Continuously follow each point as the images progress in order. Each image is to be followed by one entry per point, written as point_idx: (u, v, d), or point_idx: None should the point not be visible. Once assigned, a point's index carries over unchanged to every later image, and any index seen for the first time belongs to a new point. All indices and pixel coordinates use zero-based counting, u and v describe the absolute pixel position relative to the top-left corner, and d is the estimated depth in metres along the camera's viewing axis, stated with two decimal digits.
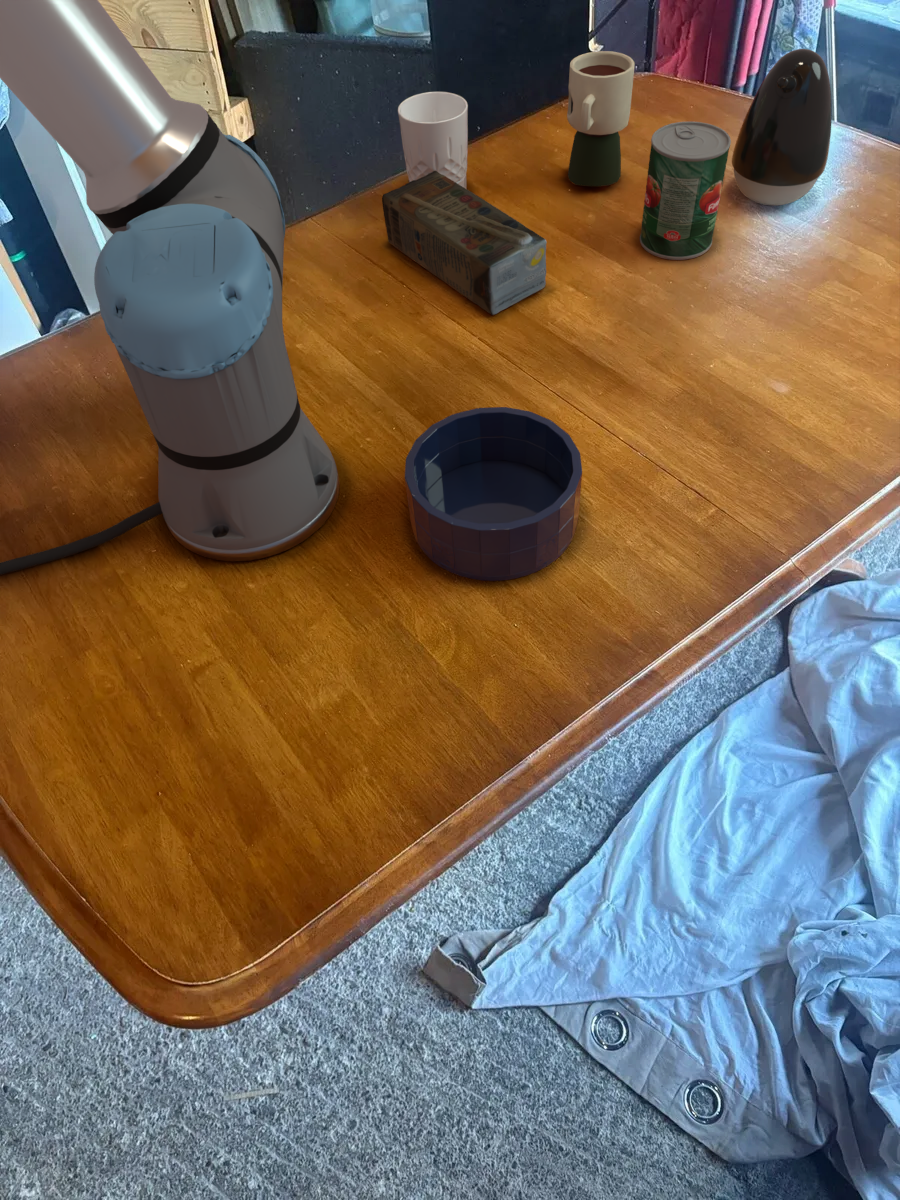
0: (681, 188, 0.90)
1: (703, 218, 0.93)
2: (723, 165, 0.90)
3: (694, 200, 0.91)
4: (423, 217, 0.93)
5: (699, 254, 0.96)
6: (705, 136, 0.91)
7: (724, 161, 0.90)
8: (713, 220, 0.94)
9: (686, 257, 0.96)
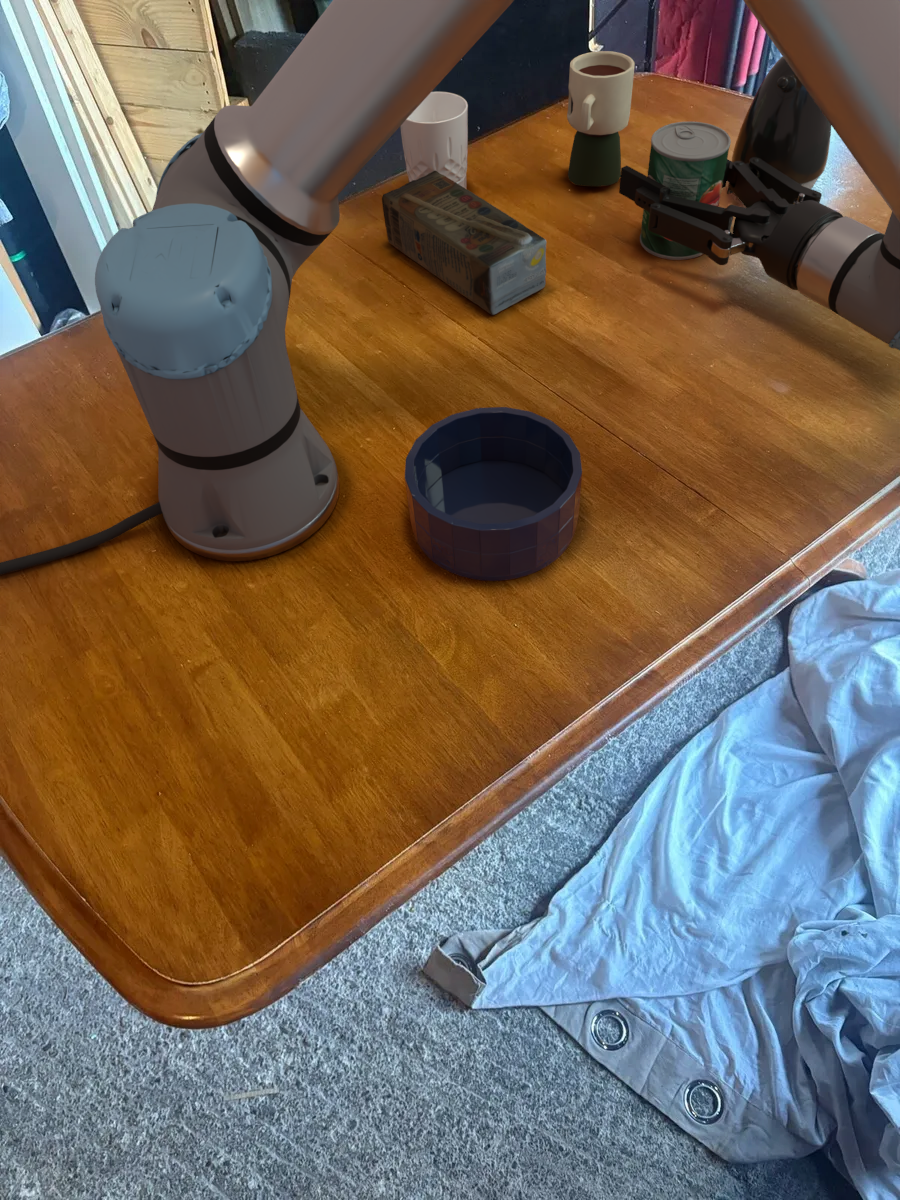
0: (681, 188, 0.90)
1: None
2: (723, 165, 0.90)
3: (694, 200, 0.91)
4: (423, 217, 0.93)
5: (699, 254, 0.96)
6: (705, 136, 0.91)
7: (724, 161, 0.90)
8: None
9: (686, 257, 0.96)
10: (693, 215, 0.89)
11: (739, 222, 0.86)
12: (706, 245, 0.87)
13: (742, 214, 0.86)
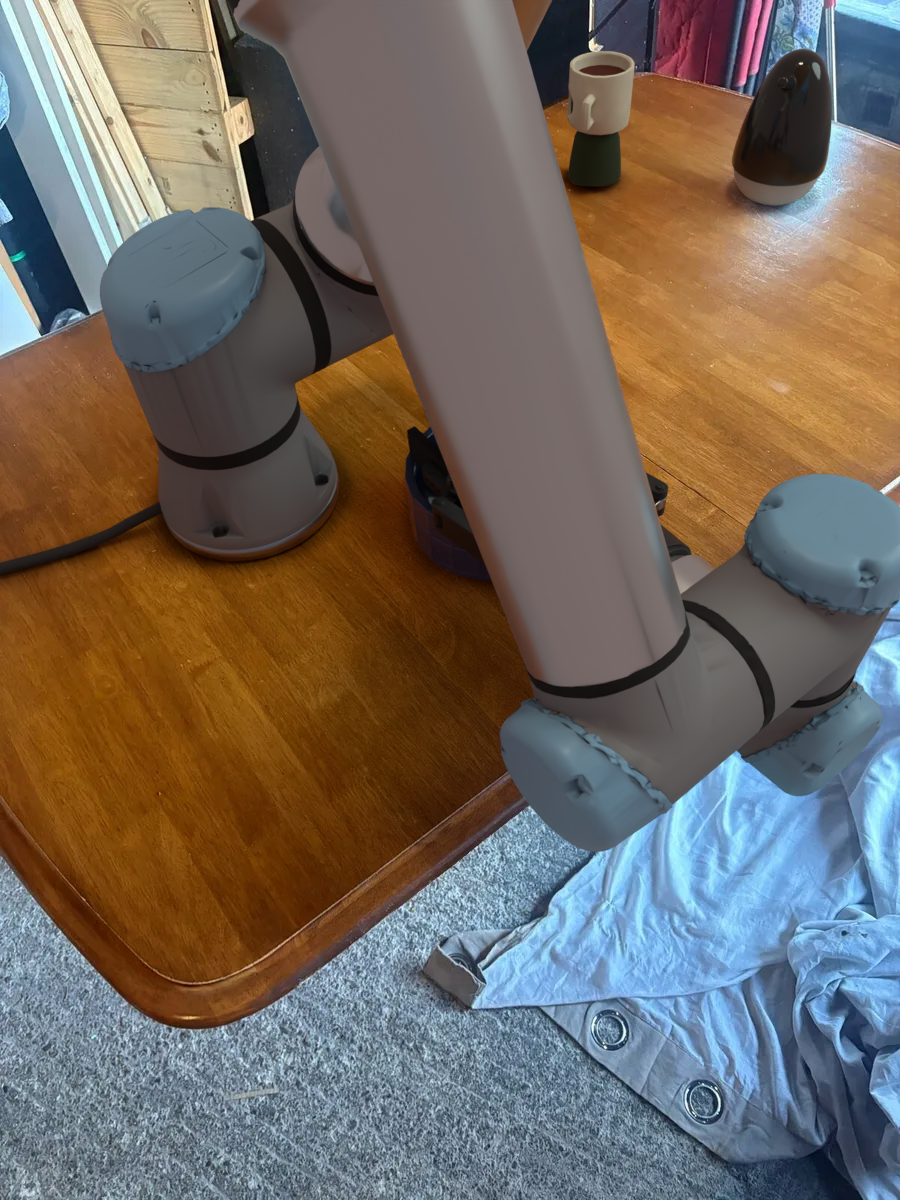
0: None
1: None
2: None
3: None
4: None
5: None
6: None
7: None
8: None
9: None
10: None
11: None
12: None
13: None
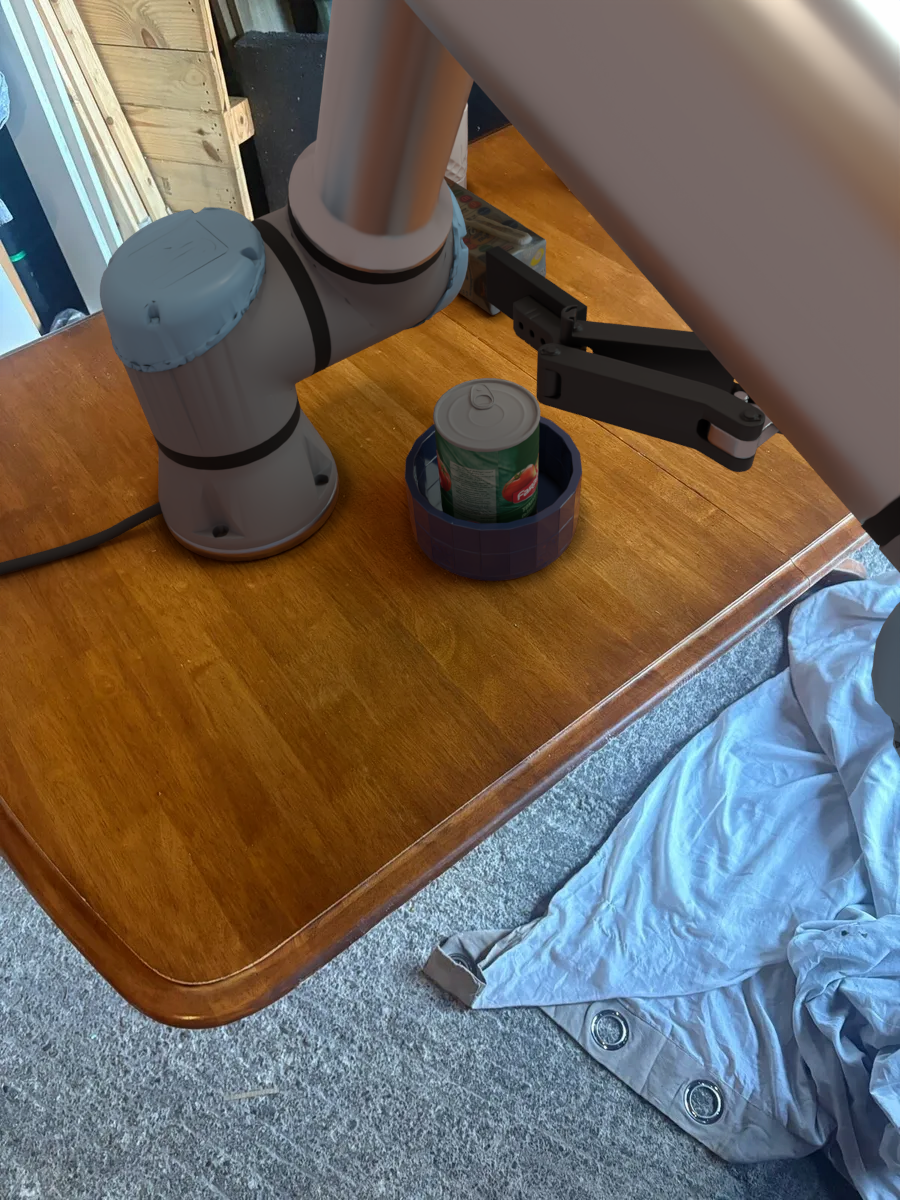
0: (473, 479, 0.65)
1: (512, 507, 0.68)
2: (530, 449, 0.65)
3: (494, 491, 0.66)
4: None
5: None
6: (508, 405, 0.66)
7: (531, 444, 0.65)
8: (530, 504, 0.70)
9: None
10: (649, 360, 0.38)
11: None
12: (694, 431, 0.36)
13: None
